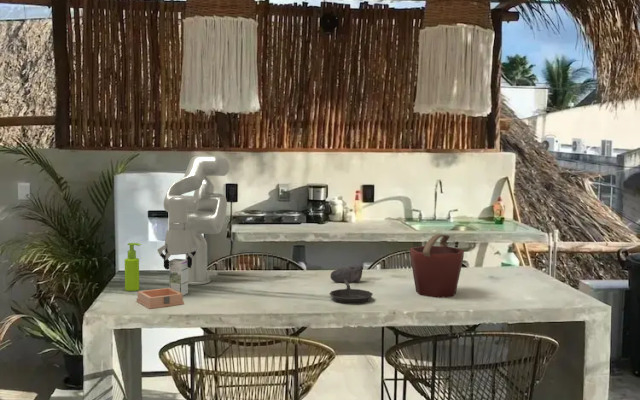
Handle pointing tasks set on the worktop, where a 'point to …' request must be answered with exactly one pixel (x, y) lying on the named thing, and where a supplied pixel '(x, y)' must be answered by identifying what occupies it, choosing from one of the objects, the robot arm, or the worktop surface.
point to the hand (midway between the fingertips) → (178, 268)
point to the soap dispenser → (132, 269)
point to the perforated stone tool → (347, 274)
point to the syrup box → (178, 275)
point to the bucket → (436, 268)
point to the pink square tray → (160, 298)
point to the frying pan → (350, 295)
